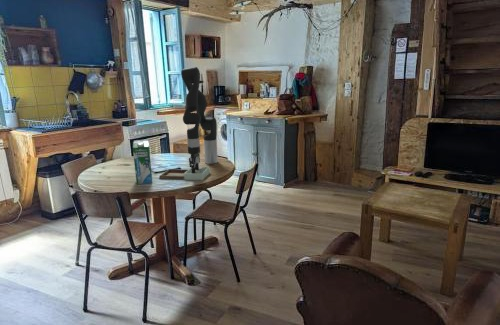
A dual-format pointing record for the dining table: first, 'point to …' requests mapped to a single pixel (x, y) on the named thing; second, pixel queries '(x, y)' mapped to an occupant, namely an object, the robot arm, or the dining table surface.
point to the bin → (196, 174)
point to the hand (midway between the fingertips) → (195, 171)
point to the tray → (173, 174)
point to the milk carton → (142, 162)
